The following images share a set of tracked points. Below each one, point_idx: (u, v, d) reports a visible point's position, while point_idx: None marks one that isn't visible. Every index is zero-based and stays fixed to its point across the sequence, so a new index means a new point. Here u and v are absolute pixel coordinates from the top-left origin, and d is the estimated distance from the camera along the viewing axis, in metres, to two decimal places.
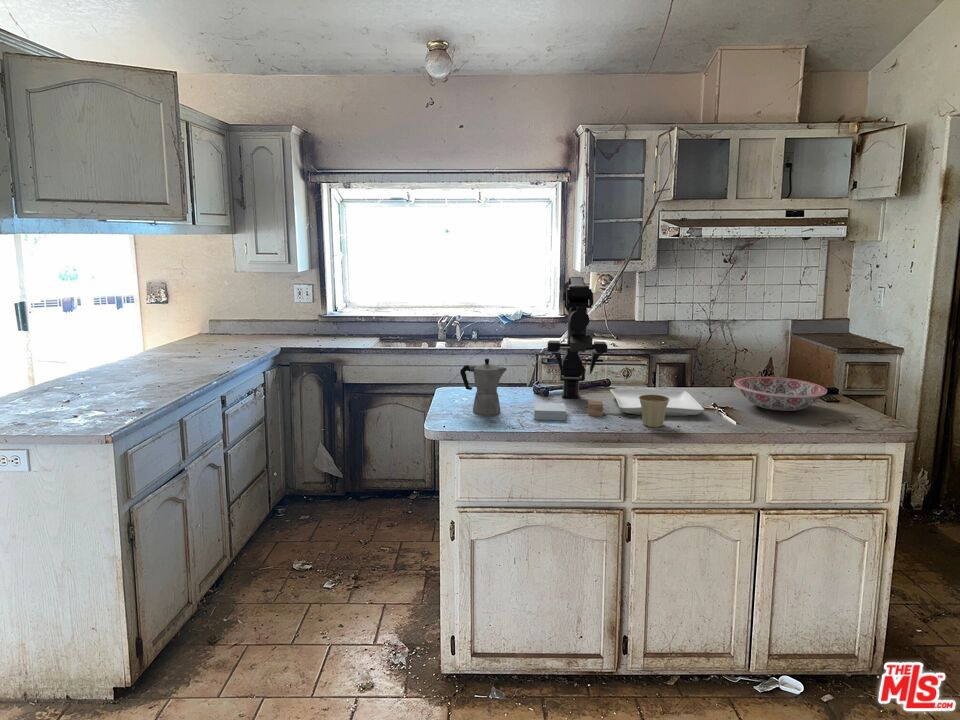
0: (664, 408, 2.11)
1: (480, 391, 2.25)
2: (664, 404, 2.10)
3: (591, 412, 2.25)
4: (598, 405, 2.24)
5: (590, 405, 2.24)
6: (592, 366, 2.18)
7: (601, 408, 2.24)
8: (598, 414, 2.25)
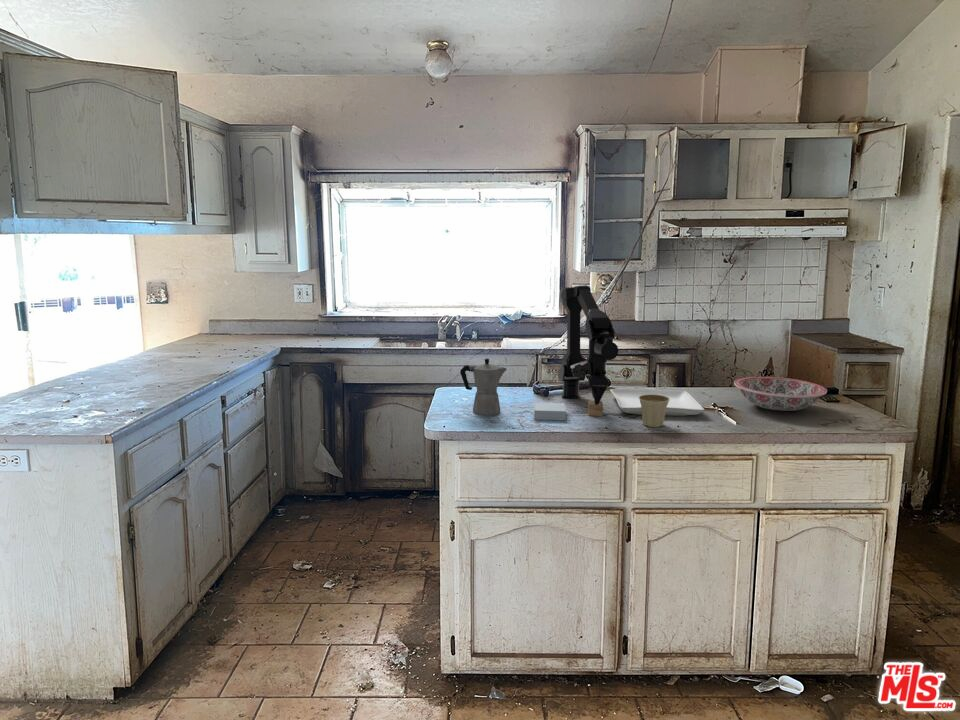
0: (664, 408, 2.11)
1: (480, 391, 2.25)
2: (664, 404, 2.10)
3: (591, 412, 2.25)
4: (598, 405, 2.24)
5: (590, 405, 2.24)
6: (593, 397, 2.21)
7: (601, 408, 2.24)
8: (598, 414, 2.25)
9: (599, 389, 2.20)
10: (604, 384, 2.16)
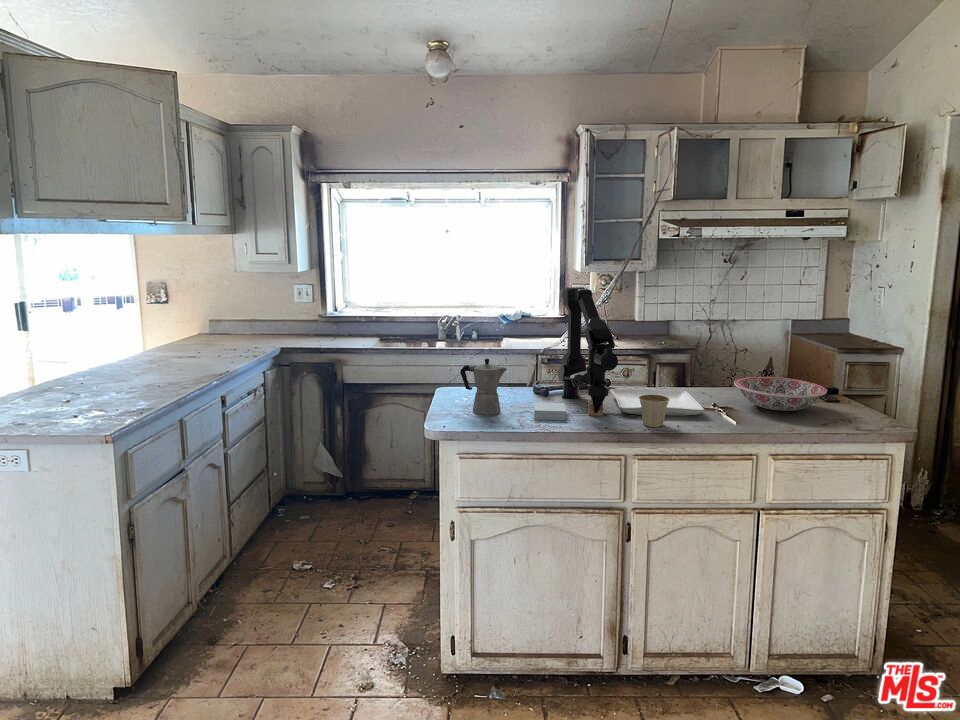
0: (664, 408, 2.11)
1: (480, 391, 2.25)
2: (664, 404, 2.10)
3: (591, 412, 2.25)
4: None
5: (590, 405, 2.24)
6: (593, 405, 2.24)
7: (601, 408, 2.24)
8: (598, 414, 2.25)
9: (598, 397, 2.22)
10: (604, 394, 2.16)
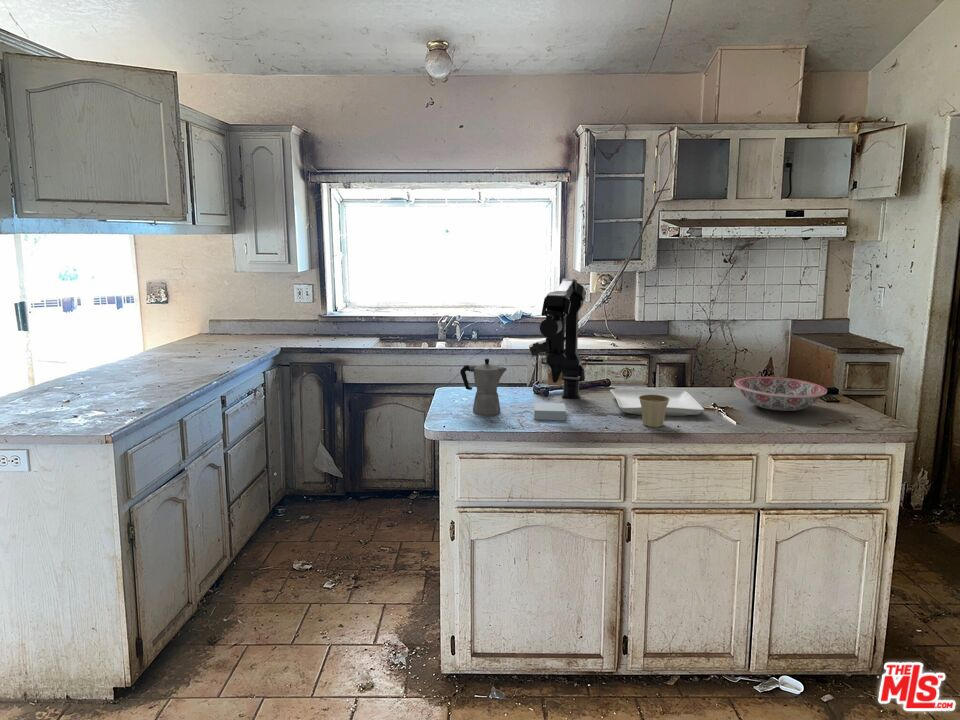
0: (664, 408, 2.11)
1: (480, 391, 2.25)
2: (664, 404, 2.10)
3: (550, 382, 2.20)
4: None
5: (549, 374, 2.20)
6: None
7: (560, 377, 2.20)
8: (557, 383, 2.20)
9: (557, 366, 2.18)
10: (562, 362, 2.12)
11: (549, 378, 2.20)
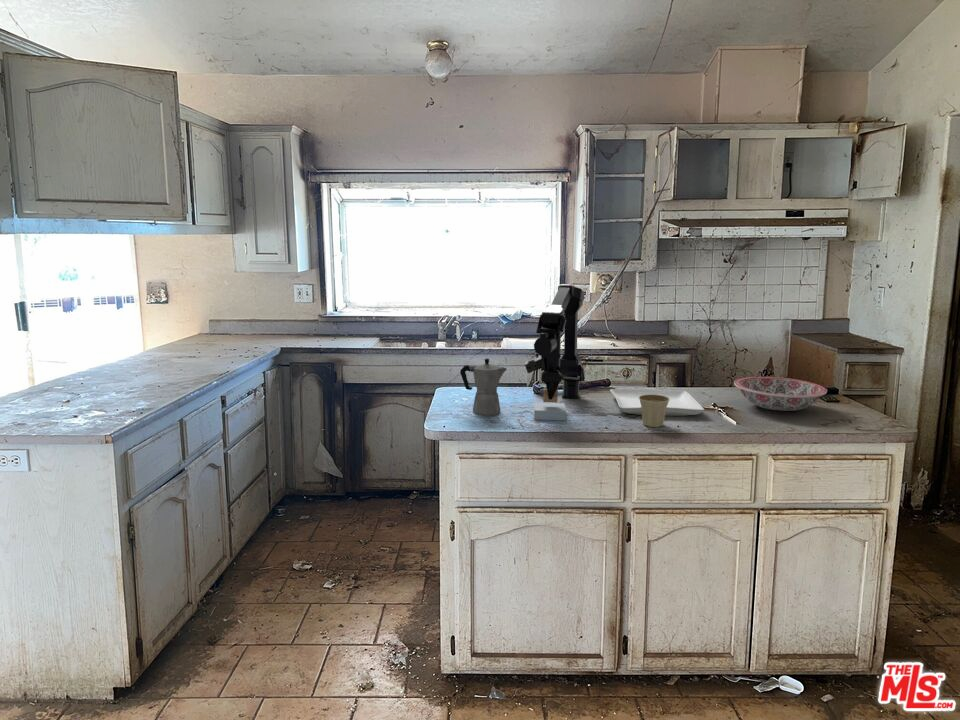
0: (664, 408, 2.11)
1: (480, 391, 2.25)
2: (664, 404, 2.10)
3: (545, 398, 2.21)
4: None
5: (545, 391, 2.21)
6: (547, 391, 2.20)
7: (556, 394, 2.21)
8: (553, 400, 2.21)
9: (552, 384, 2.19)
10: (557, 380, 2.13)
11: (544, 395, 2.21)
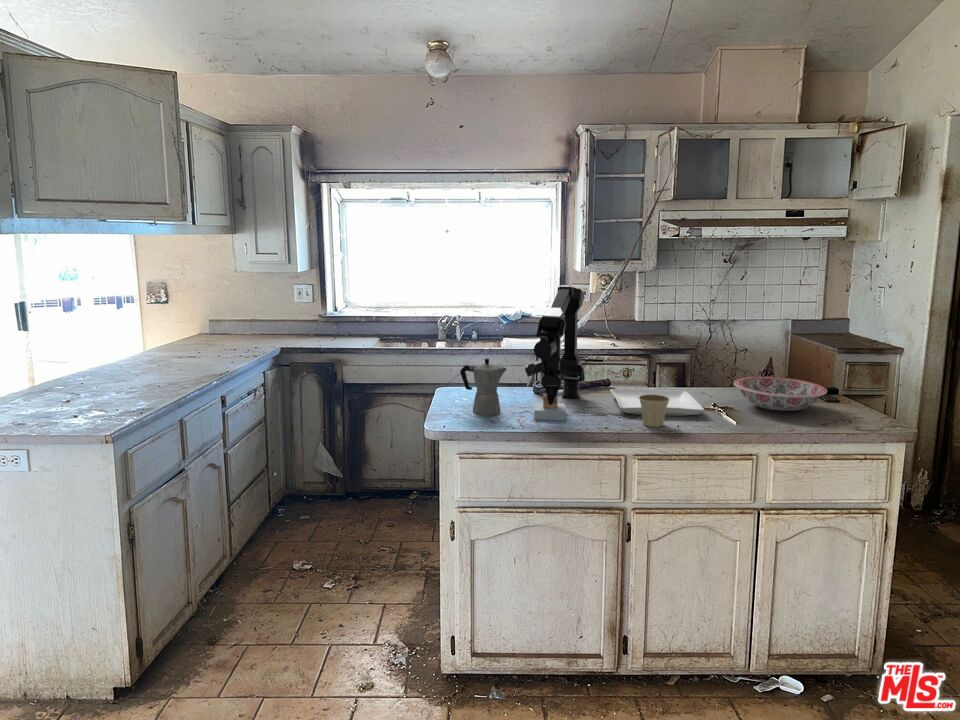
0: (664, 408, 2.11)
1: (480, 391, 2.25)
2: (664, 404, 2.10)
3: (545, 405, 2.22)
4: None
5: (544, 397, 2.21)
6: (547, 396, 2.18)
7: (556, 400, 2.21)
8: (553, 406, 2.22)
9: (552, 389, 2.17)
10: (556, 384, 2.13)
11: (544, 401, 2.21)
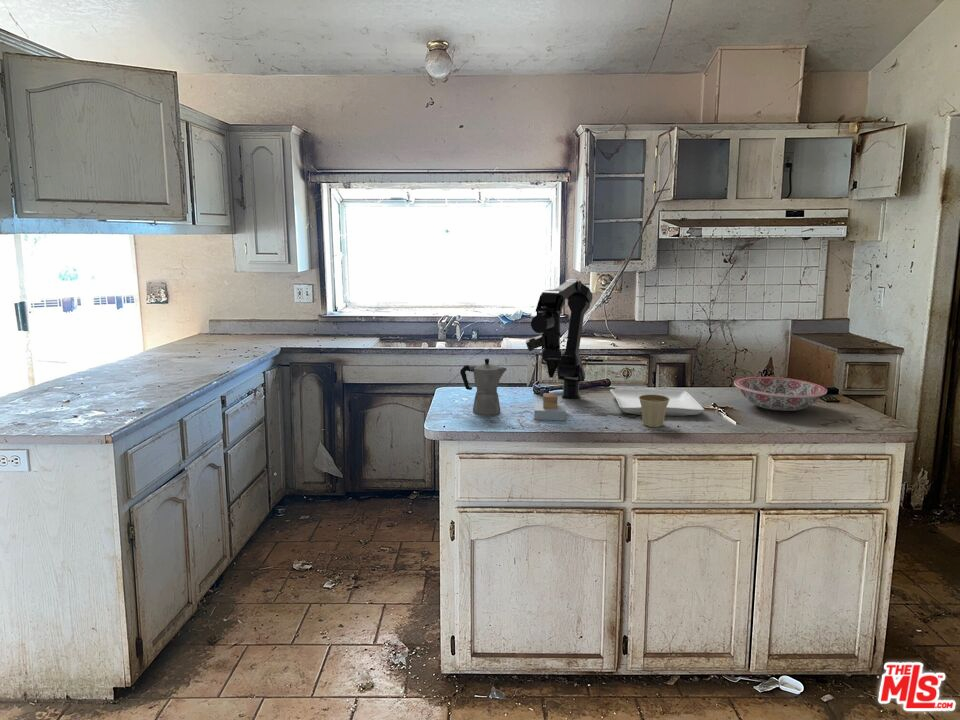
0: (664, 408, 2.11)
1: (480, 391, 2.25)
2: (664, 404, 2.10)
3: (545, 405, 2.22)
4: (552, 397, 2.21)
5: (544, 397, 2.21)
6: (548, 370, 2.26)
7: (556, 400, 2.21)
8: (553, 406, 2.22)
9: (553, 362, 2.25)
10: (557, 357, 2.21)
11: (544, 401, 2.21)
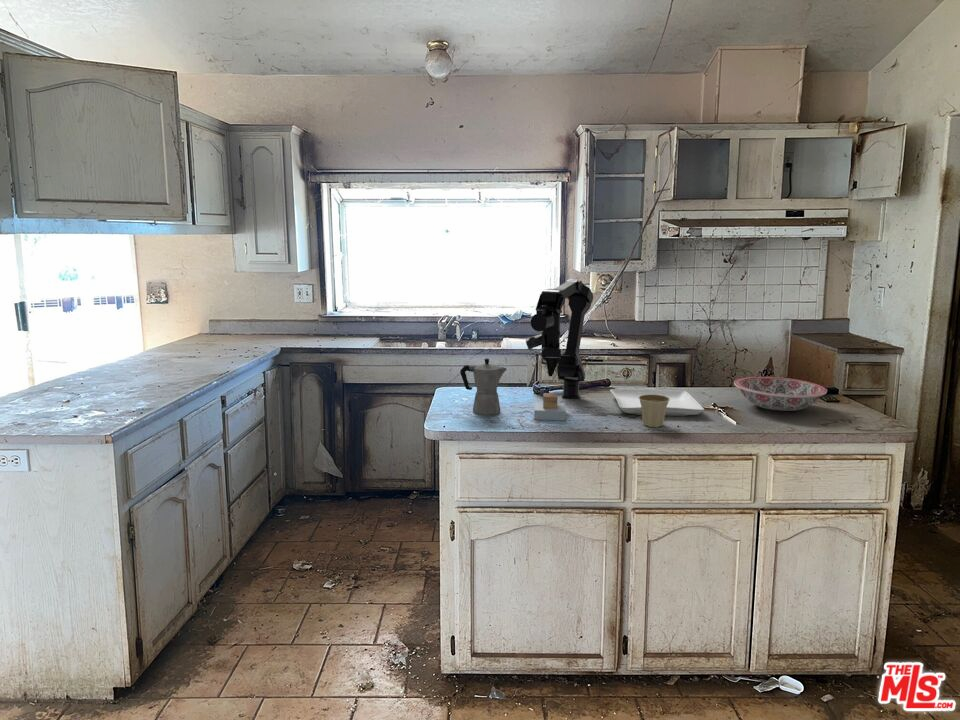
0: (664, 408, 2.11)
1: (480, 391, 2.25)
2: (664, 404, 2.10)
3: (545, 405, 2.22)
4: (552, 397, 2.21)
5: (544, 397, 2.21)
6: (547, 368, 2.27)
7: (556, 400, 2.21)
8: (553, 406, 2.22)
9: (552, 361, 2.25)
10: (556, 355, 2.21)
11: (544, 401, 2.21)
